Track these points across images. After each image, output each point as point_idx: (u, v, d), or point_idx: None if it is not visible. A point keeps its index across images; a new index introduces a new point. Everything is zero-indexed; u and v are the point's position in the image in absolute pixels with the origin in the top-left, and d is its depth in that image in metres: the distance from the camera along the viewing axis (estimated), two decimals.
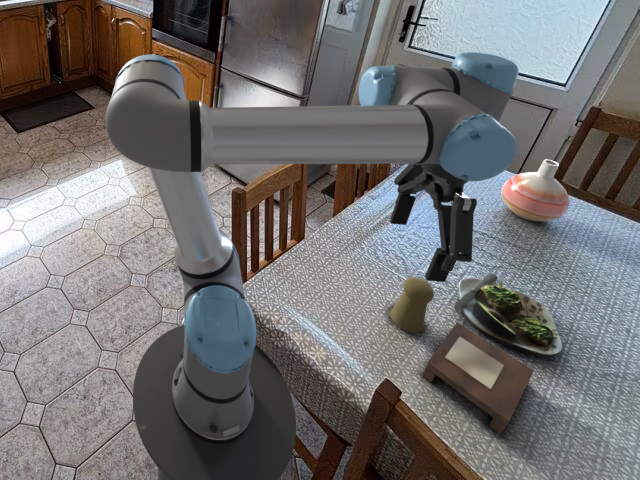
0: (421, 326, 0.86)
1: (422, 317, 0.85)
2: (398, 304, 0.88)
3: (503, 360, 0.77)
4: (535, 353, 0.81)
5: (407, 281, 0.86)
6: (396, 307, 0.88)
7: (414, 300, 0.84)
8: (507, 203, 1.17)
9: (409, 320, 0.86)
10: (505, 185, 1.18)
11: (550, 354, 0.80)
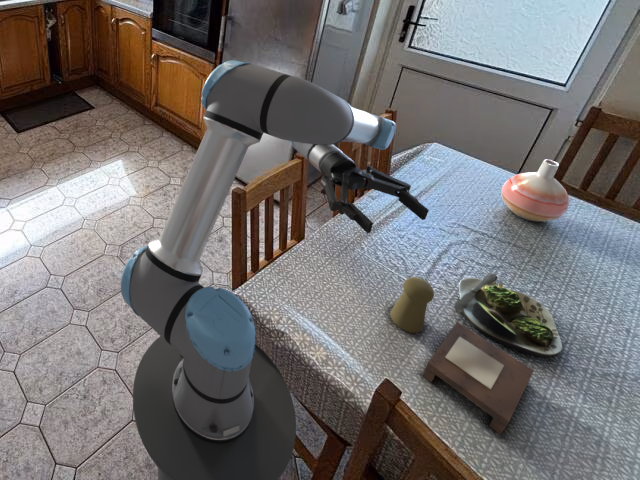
0: (421, 326, 0.86)
1: (422, 317, 0.85)
2: (398, 304, 0.88)
3: (503, 360, 0.77)
4: (535, 353, 0.81)
5: (407, 281, 0.86)
6: (396, 307, 0.88)
7: (414, 300, 0.84)
8: (507, 203, 1.17)
9: (409, 320, 0.86)
10: (505, 185, 1.18)
11: (550, 354, 0.80)
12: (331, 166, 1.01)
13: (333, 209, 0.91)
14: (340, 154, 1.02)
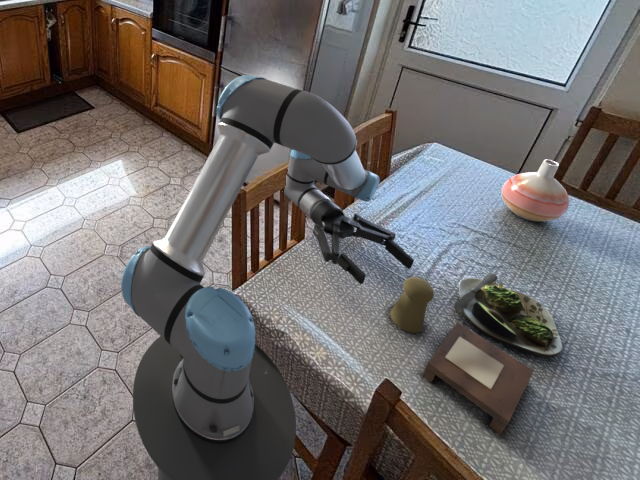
0: (421, 326, 0.86)
1: (422, 317, 0.85)
2: (398, 304, 0.88)
3: (503, 360, 0.77)
4: (535, 353, 0.81)
5: (407, 281, 0.86)
6: (396, 307, 0.88)
7: (414, 300, 0.84)
8: (507, 203, 1.17)
9: (409, 320, 0.86)
10: (505, 185, 1.18)
11: (550, 354, 0.80)
12: (322, 215, 1.06)
13: (327, 259, 0.96)
14: (329, 203, 1.08)
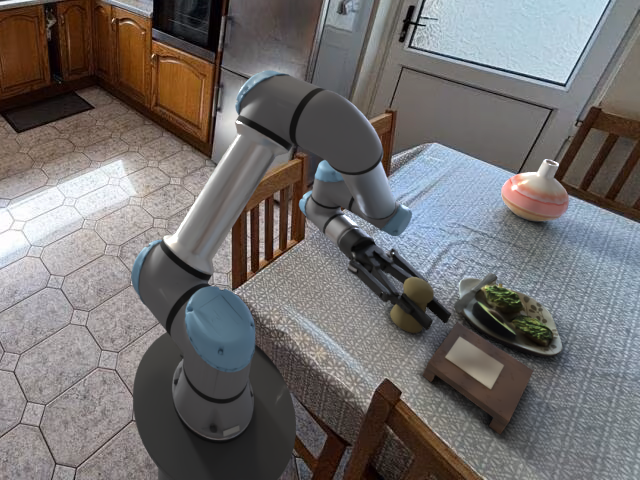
0: (421, 326, 0.86)
1: None
2: None
3: (503, 360, 0.77)
4: (535, 353, 0.81)
5: (407, 281, 0.86)
6: (396, 307, 0.88)
7: (414, 300, 0.84)
8: (507, 203, 1.17)
9: (409, 320, 0.86)
10: (505, 185, 1.18)
11: (550, 354, 0.80)
12: (351, 245, 0.97)
13: (387, 300, 0.87)
14: (359, 231, 0.99)
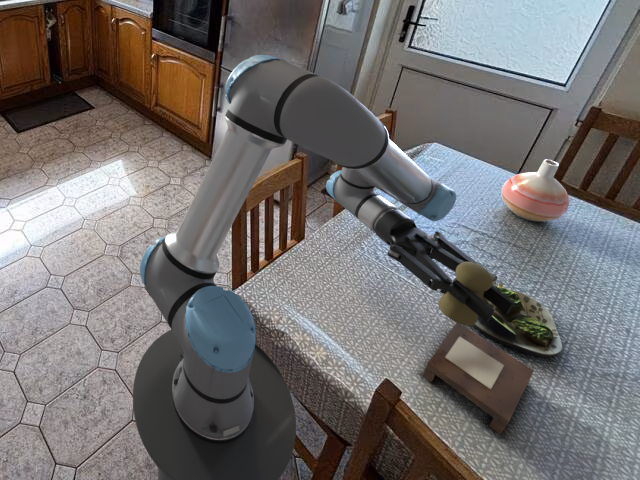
0: (476, 318, 0.75)
1: None
2: (449, 293, 0.77)
3: (503, 360, 0.77)
4: (535, 353, 0.81)
5: (461, 266, 0.75)
6: (446, 296, 0.78)
7: (470, 288, 0.73)
8: (507, 203, 1.17)
9: (463, 311, 0.75)
10: (505, 185, 1.18)
11: (550, 354, 0.80)
12: (391, 228, 0.87)
13: (437, 288, 0.76)
14: (398, 212, 0.88)
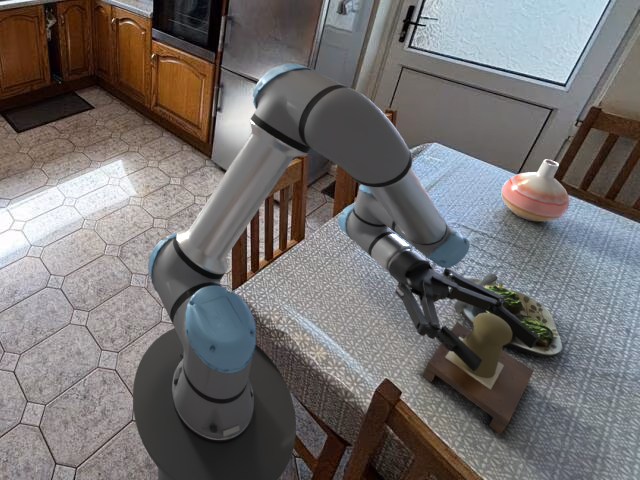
0: (494, 370, 0.74)
1: (497, 360, 0.73)
2: (466, 343, 0.76)
3: (503, 360, 0.77)
4: (535, 353, 0.81)
5: (479, 318, 0.73)
6: None
7: (489, 341, 0.72)
8: (507, 203, 1.17)
9: (481, 364, 0.73)
10: (505, 185, 1.18)
11: (550, 354, 0.80)
12: (405, 270, 0.85)
13: (423, 333, 0.75)
14: (413, 253, 0.87)
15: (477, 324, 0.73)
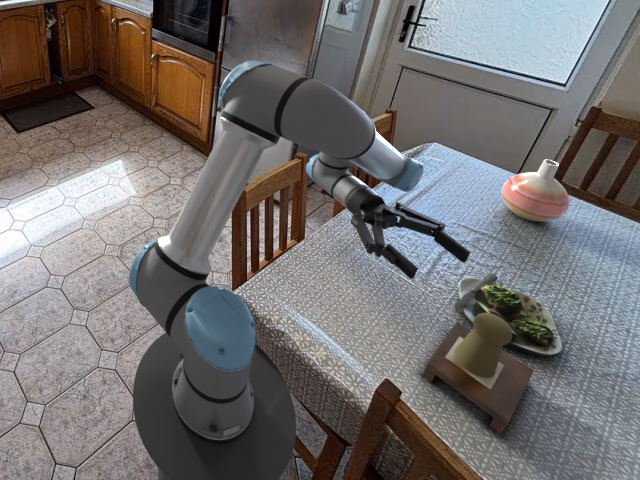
0: (494, 370, 0.74)
1: (497, 360, 0.73)
2: (466, 343, 0.76)
3: (503, 360, 0.77)
4: (535, 353, 0.81)
5: (479, 318, 0.73)
6: (463, 347, 0.76)
7: (489, 341, 0.72)
8: (507, 203, 1.17)
9: (481, 364, 0.73)
10: (505, 185, 1.18)
11: (550, 354, 0.80)
12: (360, 203, 0.95)
13: (370, 251, 0.85)
14: (368, 190, 0.97)
15: (477, 324, 0.73)
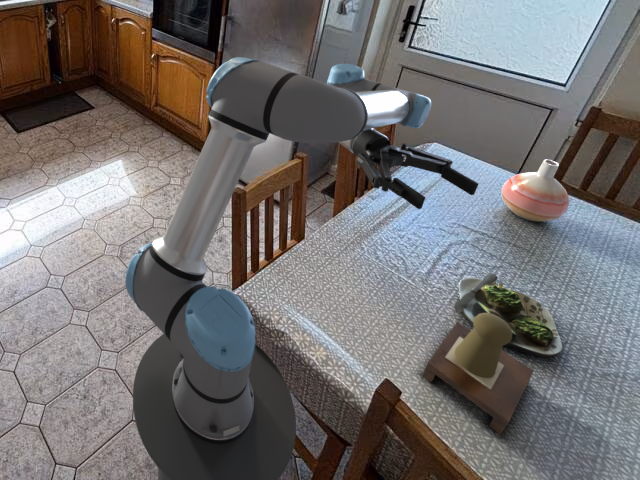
0: (494, 370, 0.74)
1: (497, 360, 0.73)
2: (466, 343, 0.76)
3: (503, 360, 0.77)
4: (535, 353, 0.81)
5: (479, 318, 0.73)
6: (463, 347, 0.76)
7: (489, 341, 0.72)
8: (507, 203, 1.17)
9: (481, 364, 0.73)
10: (505, 185, 1.18)
11: (550, 354, 0.80)
12: (366, 144, 0.94)
13: (377, 186, 0.84)
14: (374, 131, 0.96)
15: (477, 324, 0.73)
